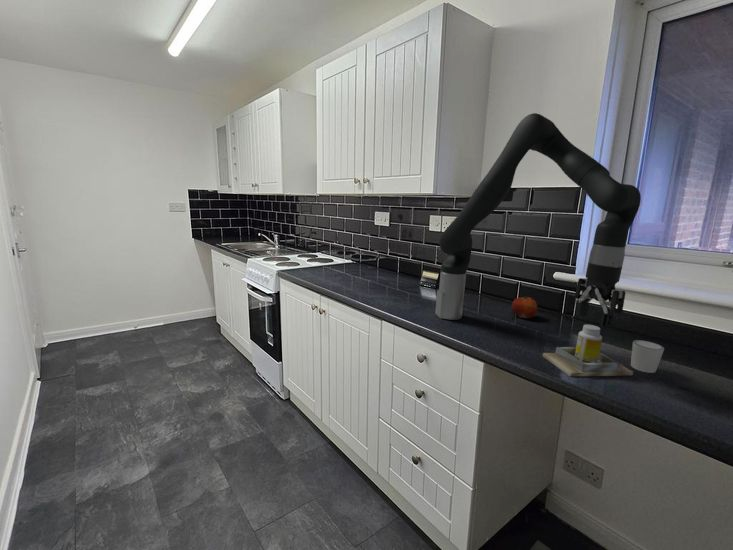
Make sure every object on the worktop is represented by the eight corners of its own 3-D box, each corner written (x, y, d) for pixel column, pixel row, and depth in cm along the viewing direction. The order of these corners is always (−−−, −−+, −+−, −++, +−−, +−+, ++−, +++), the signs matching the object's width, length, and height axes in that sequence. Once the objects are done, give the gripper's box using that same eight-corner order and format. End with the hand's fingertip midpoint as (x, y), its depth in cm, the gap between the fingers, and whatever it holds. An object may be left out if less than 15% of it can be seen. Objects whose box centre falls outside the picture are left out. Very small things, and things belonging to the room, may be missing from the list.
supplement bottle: (601, 364, 98) (608, 329, 96) (589, 367, 96) (595, 331, 94) (582, 355, 103) (588, 322, 101) (569, 358, 101) (575, 324, 99)
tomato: (538, 321, 135) (541, 301, 133) (512, 319, 136) (515, 299, 135) (532, 314, 144) (535, 295, 142) (508, 311, 145) (510, 292, 144)
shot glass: (622, 362, 103) (626, 339, 101) (644, 362, 103) (649, 339, 102) (641, 374, 96) (647, 349, 94) (665, 374, 97) (671, 349, 95)
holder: (569, 376, 93) (571, 365, 92) (542, 356, 104) (544, 346, 104) (632, 375, 95) (634, 364, 94) (598, 355, 107) (600, 346, 106)
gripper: (573, 257, 100) (563, 312, 103) (613, 267, 86) (600, 331, 89) (598, 258, 101) (587, 312, 104) (641, 268, 87) (627, 331, 90)
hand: (593, 321), depth 97 cm, fingers open, 8 cm apart
